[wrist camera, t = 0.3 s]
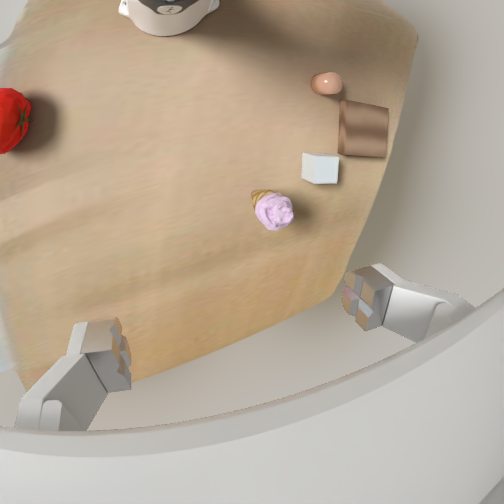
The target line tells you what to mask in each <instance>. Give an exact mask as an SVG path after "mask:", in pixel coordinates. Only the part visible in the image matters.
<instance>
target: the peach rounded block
mask: <svg viewBox="0 0 504 504" xmlns="http://www.w3.org/2000/svg"><path fill="white" fill-rule="evenodd" d="M311 87H312V89H313V91H314V92H315V93H317V94H319V95H325V94H336V93H339V92H340V91H341V90H342V87H343V82H342V79H341V77H340V76H339V75H338V74H337V73H334V72H328V73H323V74H318V75H315V76H314V77H313V78H312V80H311Z"/></svg>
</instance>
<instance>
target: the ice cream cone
mask: <svg viewBox="0 0 504 504" xmlns="http://www.w3.org/2000/svg"><path fill="white" fill-rule="evenodd" d="M251 195H252V203H253V207H254V210H255V212H256V215H257V217H258V218H259V220H260V221H261V222H262V223H263V224H264V225H265V226H266V227H267V229H268V230H271V231H277V230H279V229H281V228H283V227H286V226H287V225H288V224H289V223H291V222H292V221H293V220H295V218H294V217H293V214H294V213H295V212H293V210H292V209H293V208H292V207H293V206H292V203H291V200H290V199H289V198H288V197H285V196H284V195H283V194H282V193H280V192H278V191H273V190H257V191H253V192H252V194H251Z"/></svg>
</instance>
